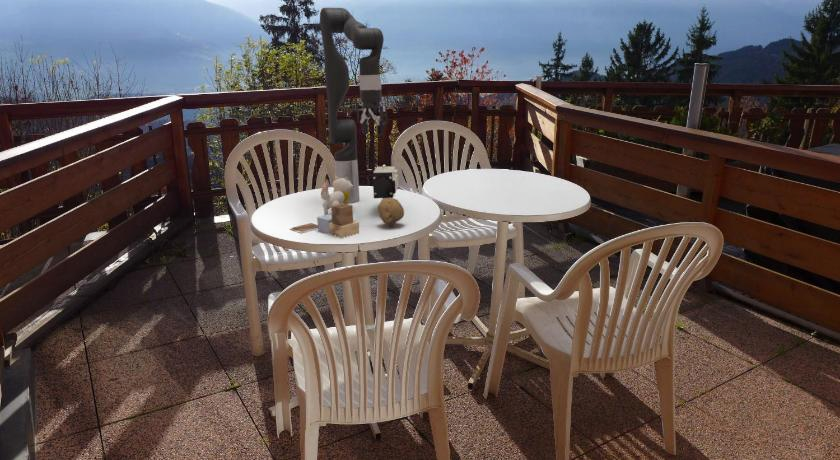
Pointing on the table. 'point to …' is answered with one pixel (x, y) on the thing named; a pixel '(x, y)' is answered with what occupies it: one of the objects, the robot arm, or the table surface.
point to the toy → (336, 193)
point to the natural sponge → (390, 211)
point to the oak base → (344, 229)
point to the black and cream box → (385, 182)
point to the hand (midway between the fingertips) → (372, 134)
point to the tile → (305, 228)
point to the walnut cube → (342, 214)
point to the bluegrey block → (324, 223)
